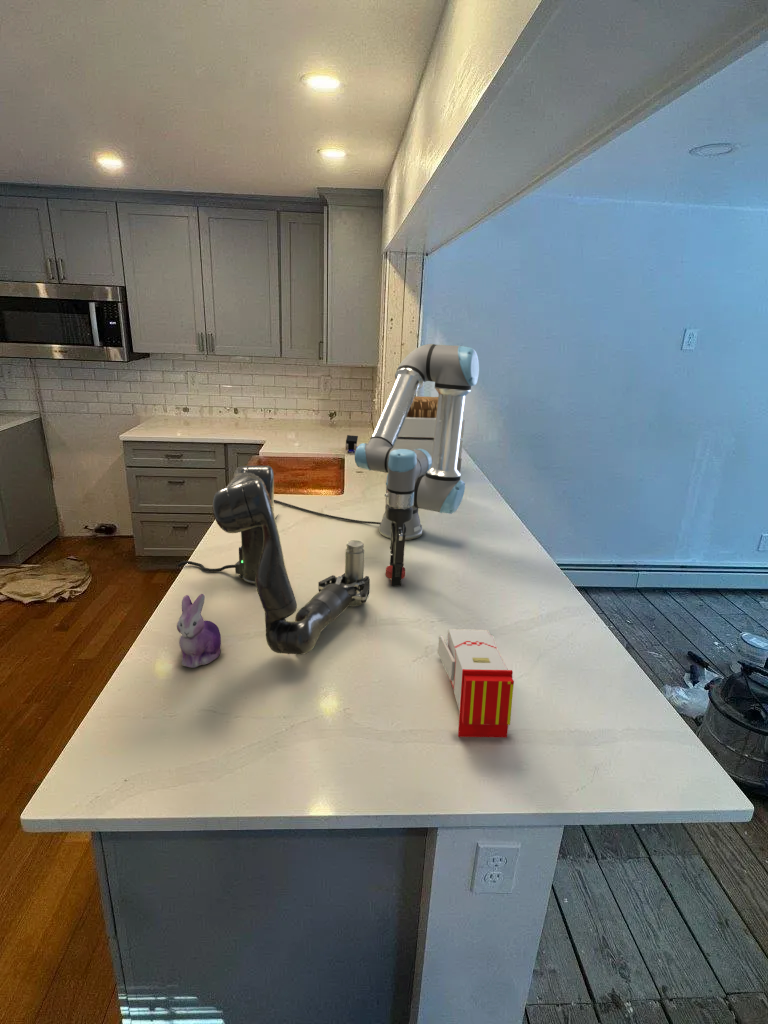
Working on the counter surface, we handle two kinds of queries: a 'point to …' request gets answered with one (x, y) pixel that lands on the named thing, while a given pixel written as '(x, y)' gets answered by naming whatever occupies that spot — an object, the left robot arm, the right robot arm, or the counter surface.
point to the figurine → (197, 634)
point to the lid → (389, 572)
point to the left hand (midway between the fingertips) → (358, 577)
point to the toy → (478, 682)
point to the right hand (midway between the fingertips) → (395, 580)
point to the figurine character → (351, 443)
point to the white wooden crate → (422, 427)
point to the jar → (354, 565)
